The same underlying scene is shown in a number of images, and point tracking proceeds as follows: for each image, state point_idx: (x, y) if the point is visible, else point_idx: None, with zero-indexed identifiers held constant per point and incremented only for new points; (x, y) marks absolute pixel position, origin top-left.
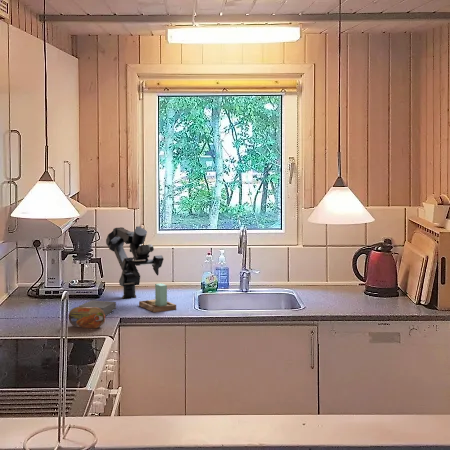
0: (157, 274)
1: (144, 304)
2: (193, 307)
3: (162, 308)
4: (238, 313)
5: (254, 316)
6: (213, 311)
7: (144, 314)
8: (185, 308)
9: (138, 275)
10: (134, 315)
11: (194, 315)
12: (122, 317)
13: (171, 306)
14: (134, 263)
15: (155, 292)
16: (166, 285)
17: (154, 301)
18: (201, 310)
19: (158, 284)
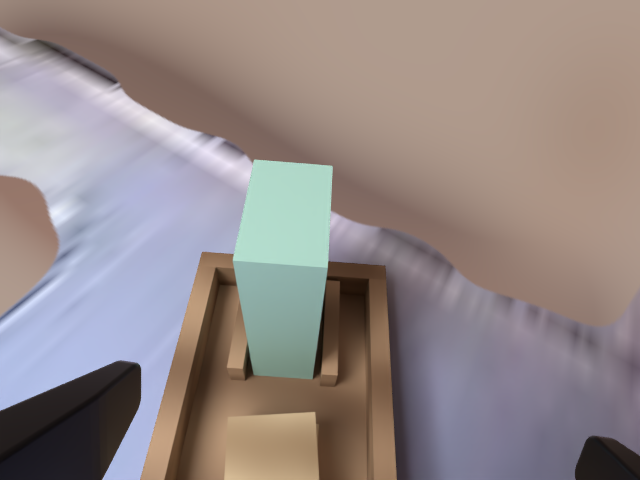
0: (140, 380)
1: (392, 438)
2: (27, 306)
3: None
4: (11, 94)
5: (23, 45)
6: (50, 170)
7: (434, 329)
8: (93, 313)
9: (614, 443)
10: (507, 343)
11: (198, 163)
12: (598, 341)
13: None
14: None
15: (320, 314)
16: (259, 161)
17: (285, 427)
18: (73, 218)
19: (305, 231)
